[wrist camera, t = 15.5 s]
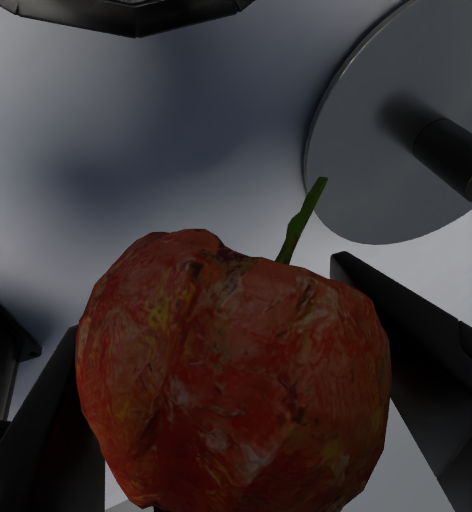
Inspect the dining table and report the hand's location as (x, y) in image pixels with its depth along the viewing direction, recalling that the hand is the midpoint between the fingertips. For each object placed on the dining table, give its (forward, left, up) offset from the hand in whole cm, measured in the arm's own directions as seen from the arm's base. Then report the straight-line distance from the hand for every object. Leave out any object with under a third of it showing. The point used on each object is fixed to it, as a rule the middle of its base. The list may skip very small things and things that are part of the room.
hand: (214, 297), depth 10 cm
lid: (-4, -14, -11) cm, 19 cm away
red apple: (0, 0, -2) cm, 2 cm away
